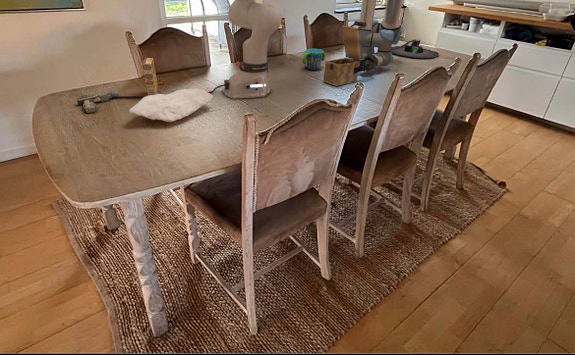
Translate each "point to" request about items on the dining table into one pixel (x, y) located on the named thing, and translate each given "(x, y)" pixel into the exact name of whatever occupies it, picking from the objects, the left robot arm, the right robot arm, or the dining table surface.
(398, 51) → the dark round disc
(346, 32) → the lid
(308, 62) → the snack cup
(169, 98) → the crumpled cloth
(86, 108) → the handgun
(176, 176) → the dining table surface
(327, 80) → the chest
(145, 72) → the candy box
